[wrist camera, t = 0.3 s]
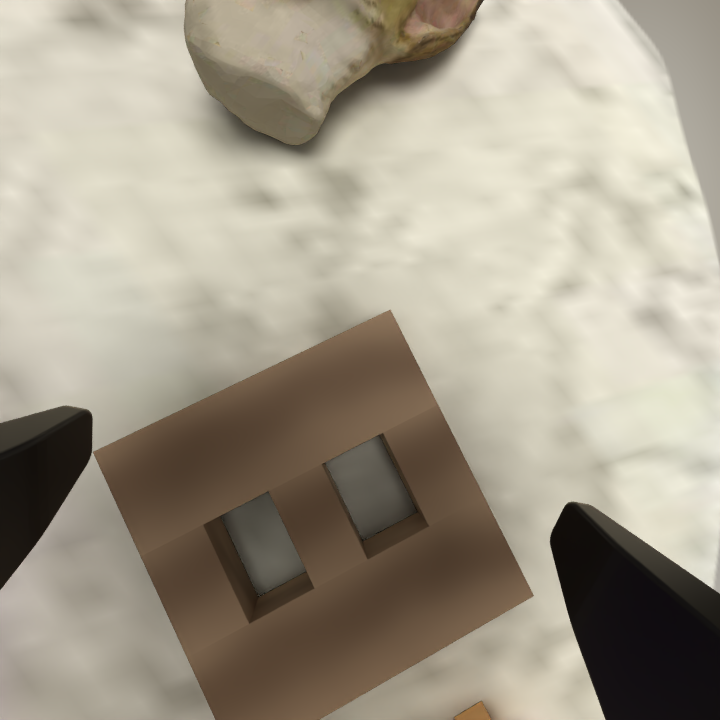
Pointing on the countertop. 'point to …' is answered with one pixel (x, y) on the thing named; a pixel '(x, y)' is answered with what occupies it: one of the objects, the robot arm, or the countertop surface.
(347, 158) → the countertop surface
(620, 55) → the countertop surface
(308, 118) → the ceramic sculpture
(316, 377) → the brown slotted square board
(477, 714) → the tan wooden block
